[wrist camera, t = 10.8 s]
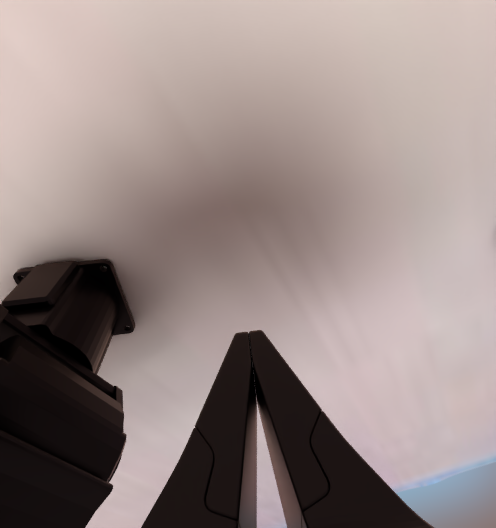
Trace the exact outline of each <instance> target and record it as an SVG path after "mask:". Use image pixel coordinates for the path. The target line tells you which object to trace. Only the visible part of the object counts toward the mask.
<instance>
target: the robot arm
mask: <svg viewBox="0 0 496 528" xmlns="http://www.w3.org/2000/svg"><path fill="white" fill-rule="evenodd" d="M102 266H106V267H107V269H104V268H103V267H102ZM21 275H22V276H24V277H25V278H23V277H22V276H21ZM13 278H14V280H15V282H16V283H17V286H16V287H15V288H14V290H13V291H12V292H11V293H10V294H9V295H8V296H7V297H6V298H5V299H4V300H3V301H2V303H1V305H0V528H85V527H86V525H87V524H88V522H89V521H90V519H91V518H92V516H93V514H94V513H95V511H96V510H97V509H98V508H99V506H100V505H101V504H102V503H103V502H104V500H105V499H106V498H107V497H108V495H109V494H110V493H111V491H112V489H113V485H112V484H110V483H109V482H110V480H111V478H112V477H113V475H114V473H115V471H116V469H117V467H118V464H119V462H120V459H121V456H122V452H123V449H124V446H125V443H126V434H125V433H123V422H124V412H123V394H122V390H121V389H119V388H118V387H117V386H112V385H111V384H109V383H108V382H106V381H105V380H104V379H102V378H101V377H99V376H98V375H97V373H98V371H99V368H100V366H101V363H102V361H103V358H104V356H105V353H106V351H107V348H108V346H109V343H110V341H111V339H112V336H113V335H118V334H127V333H132V332H133V331H134V328H135V323H134V320H133V318H132V315H131V312H130V310H129V307H128V304H127V302H126V299H125V296H124V294H123V291H122V288H121V286H120V283H119V281H118V278H117V275H116V273H115V270H114V267H113V265H112V263H111V262H110V261H108V260H94V261H86V262H75V261H68V262H59V263H51V264H42V265H37V266H35V267H34V268H26V269H20V270H18V271H17V272H16V273H15V274H14V275H13ZM126 326H129V327H126ZM249 339H250V340H249ZM250 347H251V348H250ZM251 356H252V357H251ZM252 364H253V365H252ZM253 372H254V374H253ZM254 381H255V382H254ZM255 389H256V391H255ZM256 397H257V401H256ZM257 404H258V408H259V413H260V417H261V421H262V425H263V429H264V433H265V437H266V442H267V446H268V450H269V454H270V458H271V462H272V466H273V470H274V475H275V479H276V483H277V487H278V491H279V495H280V499H281V503H282V507H283V512H284V516H285V520H286V524H287V528H434V527H433V526H431V525H430V524H428V523H427V522H426V521H425V520H423V519H422V518H421V517H420V516H418V515H417V514H416V513H415V512H414V511H413V510H412V509H411V508H410V507H408V506H407V505H406V503H405V502H404V501H402V499H401V498H400V497H399V496H398V495H397V494H396V493H395V492H394V491H393V490H392V489H391V488H390V487H389V486H388V485H387V484H386V483H385V482H384V480H383V479H382V478H381V477H380V476H379V475H378V474H377V473H376V472H375V471H374V470H373V469H372V468H371V467H370V466H369V465H368V464H367V463H366V461H365V460H364V459H363V458H362V457H361V456H360V455H359V454H358V453H357V452H356V451H355V450H354V448H353V447H352V446H351V445H350V444H349V443H348V442H347V441H346V440H345V438H344V437H343V436H342V435H341V433H340V432H339V431H338V430H337V428H336V427H335V426H334V425H333V423H332V422H331V421H330V420H329V418H328V417H327V416H326V414H325V413H324V412H323V411H322V409H321V408H320V407H319V405H318V404H317V403H316V401H315V400H314V399H313V397H312V396H311V395H310V393H309V392H308V391H307V389H306V388H305V387H304V385H303V384H302V383H301V381H300V380H299V379H298V377H297V376H296V375H295V373H294V372H293V371H292V369H291V368H290V367H289V365H288V364H287V363H286V361H285V360H284V359H283V357H282V356H281V355H280V353H279V352H278V351H277V350H276V348H275V347H274V346H273V344H272V343H271V342H270V340H269V339H268V338H267V336H266V335H265V334H264V332H263V331H262V330H257V331H250V332H249V333H248V332H240V333H236V334H235V335H234V338H233V340H232V342H231V344H230V347H229V349H228V351H227V354H226V356H225V358H224V361H223V363H222V365H221V367H220V370H219V372H218V374H217V377H216V379H215V381H214V383H213V386H212V388H211V390H210V393H209V395H208V397H207V399H206V402H205V404H204V406H203V409H202V411H201V413H200V415H199V418H198V420H197V422H196V425H195V428H194V429H193V431H192V433H191V436H190V438H189V440H188V443H187V445H186V447H185V449H184V451H183V453H182V455H181V457H180V459H179V461H178V463H177V465H176V467H175V469H174V471H173V472H172V474H171V476H170V478H169V480H168V482H167V483H166V485H165V487H164V489H163V490H162V492H161V494H160V496H159V497H158V499H157V501H156V503H155V504H154V506H153V508H152V510H151V511H150V513H149V515H148V517H147V518H146V520H145V522H144V524H143V525H142V527H141V528H256V527H257Z"/></svg>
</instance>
